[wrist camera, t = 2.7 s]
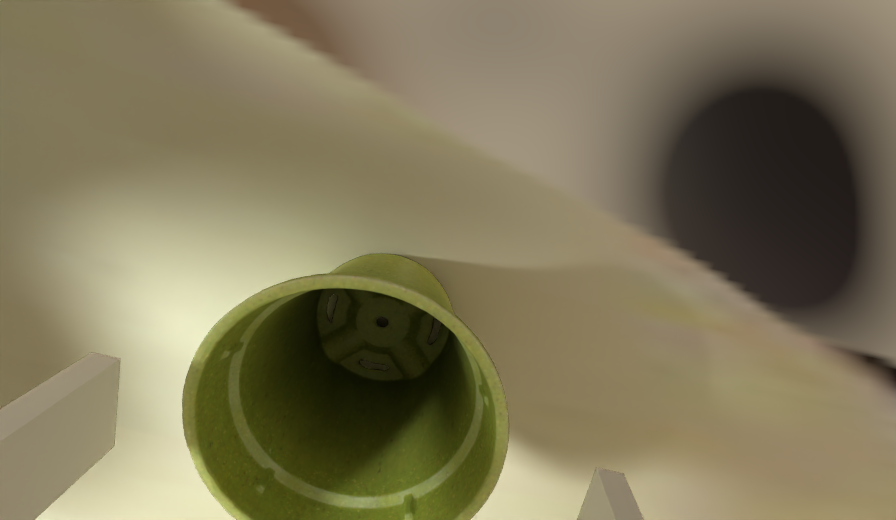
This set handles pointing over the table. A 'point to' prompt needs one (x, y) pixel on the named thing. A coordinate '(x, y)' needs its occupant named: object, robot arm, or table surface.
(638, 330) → the table surface
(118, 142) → the table surface
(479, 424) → the plant pot
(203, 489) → the table surface
